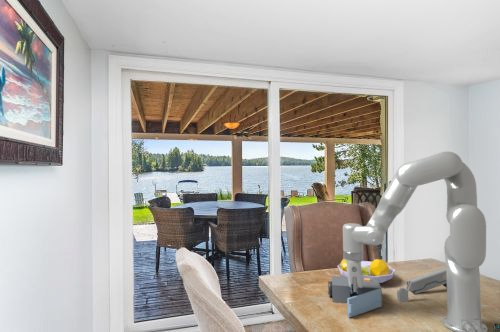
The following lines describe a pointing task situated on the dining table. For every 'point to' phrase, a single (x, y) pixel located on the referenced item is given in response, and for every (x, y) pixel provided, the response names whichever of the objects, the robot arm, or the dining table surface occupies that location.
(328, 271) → the dining table surface
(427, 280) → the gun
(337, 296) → the grey block
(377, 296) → the side door
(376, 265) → the fruit bowl
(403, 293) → the pale grey angled bracket
